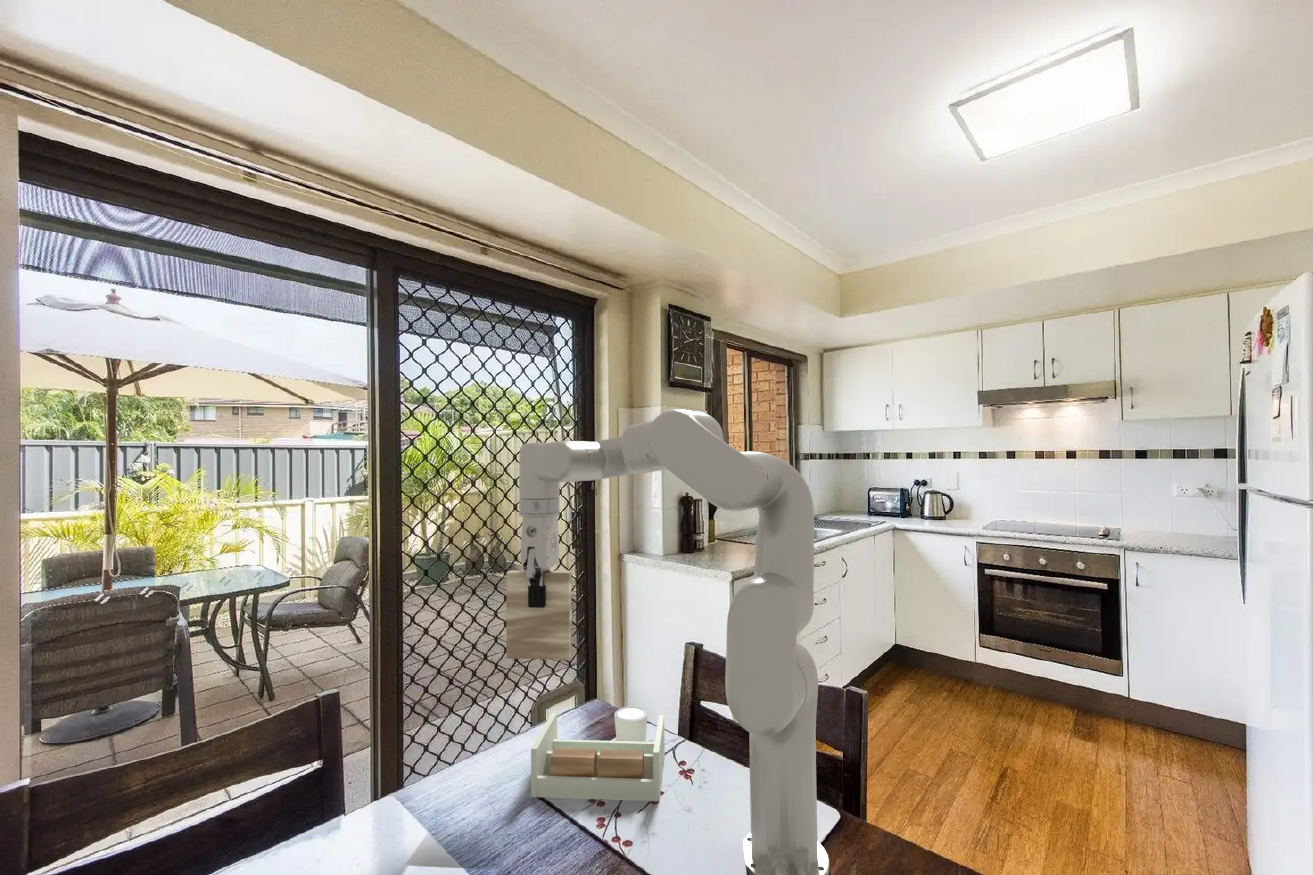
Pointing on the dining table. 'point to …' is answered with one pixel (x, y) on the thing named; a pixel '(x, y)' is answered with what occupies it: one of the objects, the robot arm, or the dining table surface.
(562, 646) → the birch sheet
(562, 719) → the dining table surface
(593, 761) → the offcut
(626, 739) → the white cup
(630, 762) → the offcut
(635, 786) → the rack
